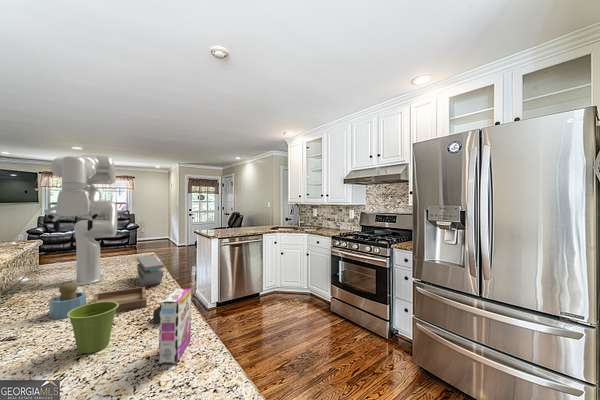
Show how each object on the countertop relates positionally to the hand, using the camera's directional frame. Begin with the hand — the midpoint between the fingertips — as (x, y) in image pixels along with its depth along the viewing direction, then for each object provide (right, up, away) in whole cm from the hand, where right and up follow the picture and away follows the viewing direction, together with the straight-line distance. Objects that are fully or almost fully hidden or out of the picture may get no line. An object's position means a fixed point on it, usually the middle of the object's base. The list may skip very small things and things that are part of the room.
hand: (73, 231), depth 104 cm
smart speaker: (+42, -31, -9) cm, 53 cm away
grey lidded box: (+13, -30, +31) cm, 45 cm away
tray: (+16, -30, +3) cm, 34 cm away
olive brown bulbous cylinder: (+3, -30, -6) cm, 31 cm away
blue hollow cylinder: (+3, -30, -6) cm, 31 cm away
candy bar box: (+55, -31, -30) cm, 70 cm away
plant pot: (+30, -31, -28) cm, 51 cm away
